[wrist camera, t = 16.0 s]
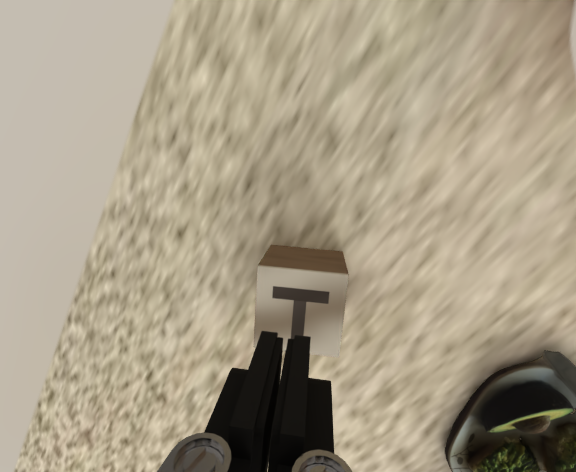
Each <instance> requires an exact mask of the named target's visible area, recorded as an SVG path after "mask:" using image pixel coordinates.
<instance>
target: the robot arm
mask: <svg viewBox="0 0 576 472" xmlns="http://www.w3.org/2000/svg"><path fill="white" fill-rule="evenodd" d="M310 340H311V337H309V336H301V335H295V337H294V339H289V338H288V342H287V347H286V353H285V358H284V364H283V369H282V375H281V380H280V374H281V362H282V350H283V338H281V337H278V333H277V332H268V331H261V334H260V337H259V340H258V343H257V346H256V349H255V352H254V355H253V357H252V360H251V363H250V366H249V369H248V370H245V369H238V368H232V369H231V371H230V373H229V375H228V377H227V380H226V382H225V385H224V387H223V389H222V392H221V394H220V396H219V399H218V401H217V403H216V406H215V408H214V411H213V413H212V415H211V418H210V420H209V422H208V425H207V427H206V429H205V432H204V433H197V434H194V435H191V436H189V437H186V438H185V439H183V440H182V441H180V442H179V443H178V444H177V445H176V446H175V447H174V448H173V450H172V451H171V452H170V454H169V455H168V457H167V458H166V459H165V461H164V462H163V464H162V465H161V467H160V468H159V470H158V471H157V472H267V468H268V472H352V470H351V469H350V467H349V466H348V465H347V463H346V462H345V461H344V460H343V459H341V458H340V457H339V456H338V455H336V454H334V439H333V415H332V391H331V381H328V380H320V379H313V378H308V373H309V357H310ZM268 462H269V465H268Z"/></svg>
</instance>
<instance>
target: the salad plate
mask: <svg viewBox="0 0 576 472" xmlns="http://www.w3.org/2000/svg"><path fill="white" fill-rule="evenodd" d="M574 409H576V367H575V366H574V365H573V364H572V363H571V362H570V361H569V360H568V359H567V358H566V357H565V356H564V355H562V354H561V353H560V352H551V351H546V350H545V351H544V354H543V356H542V357H541V358H540V359H537V360H534V361H532V362H528V363H523V364H519V365H515V366H511V367H508V368H505V369H502V370H500V371H498V372H496V373H494V374H493V375H492V376H490V377H489V378H488V379H487V380H486V381H485V382H484V383H483V384H482V385H481V386H480V387H479V388H478V390H477V391H476V392H475V393H474V394H473V395H472V397H471V398H470V400H469V401H468V403H467V404H466V406H465V407H464V409H463V410H462V411H461V413H460V414H459V416H458V418H457V419H456V421H455V423H454V425H453V427H452V430H451V433H450V435H449V438H448V441H447V444H446V447H445V454H446V459H447V462H448V464H449V466H450V469H451V471H452V472H576V411H575V413H574V414H570V413H572V412H573V411H574ZM519 438H521V440H520V439H519Z"/></svg>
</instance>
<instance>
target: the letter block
mask: <svg viewBox="0 0 576 472" xmlns="http://www.w3.org/2000/svg"><path fill="white" fill-rule="evenodd" d="M348 277H349V274H348V270H347V267H346V263H345V259H344V255H343V252H342V251H331V250H320V249H310V248H299V247H288V246H277V245H271V246H270V247H269V249H268V251H267V252H266V254H265V255H264V257H263V259H262V260H261V262H260V263H259V265H258V270H257V289H256V308H255V328H254V347H255V348H256V346H257V343H258V340H259V337H260V334H261V331H268V332H277V333H278V337H281V338H283V350H282V351H286V347H287V342H288V338H289V339H294V337H295V335H301V336H309V337H311V340H310V354H314V355H322V356H331V357H339V354H340V345H341V337H342V328H343V320H344V311H345V303H346V294H347V286H348Z"/></svg>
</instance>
